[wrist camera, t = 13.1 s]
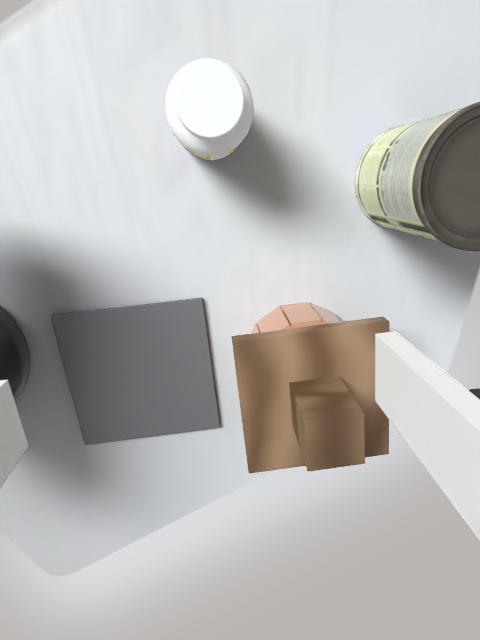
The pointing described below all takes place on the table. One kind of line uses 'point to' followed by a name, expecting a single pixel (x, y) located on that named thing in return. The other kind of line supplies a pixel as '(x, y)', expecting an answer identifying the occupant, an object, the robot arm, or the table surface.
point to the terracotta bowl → (295, 318)
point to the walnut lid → (311, 396)
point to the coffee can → (426, 178)
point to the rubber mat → (139, 370)
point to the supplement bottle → (209, 108)
